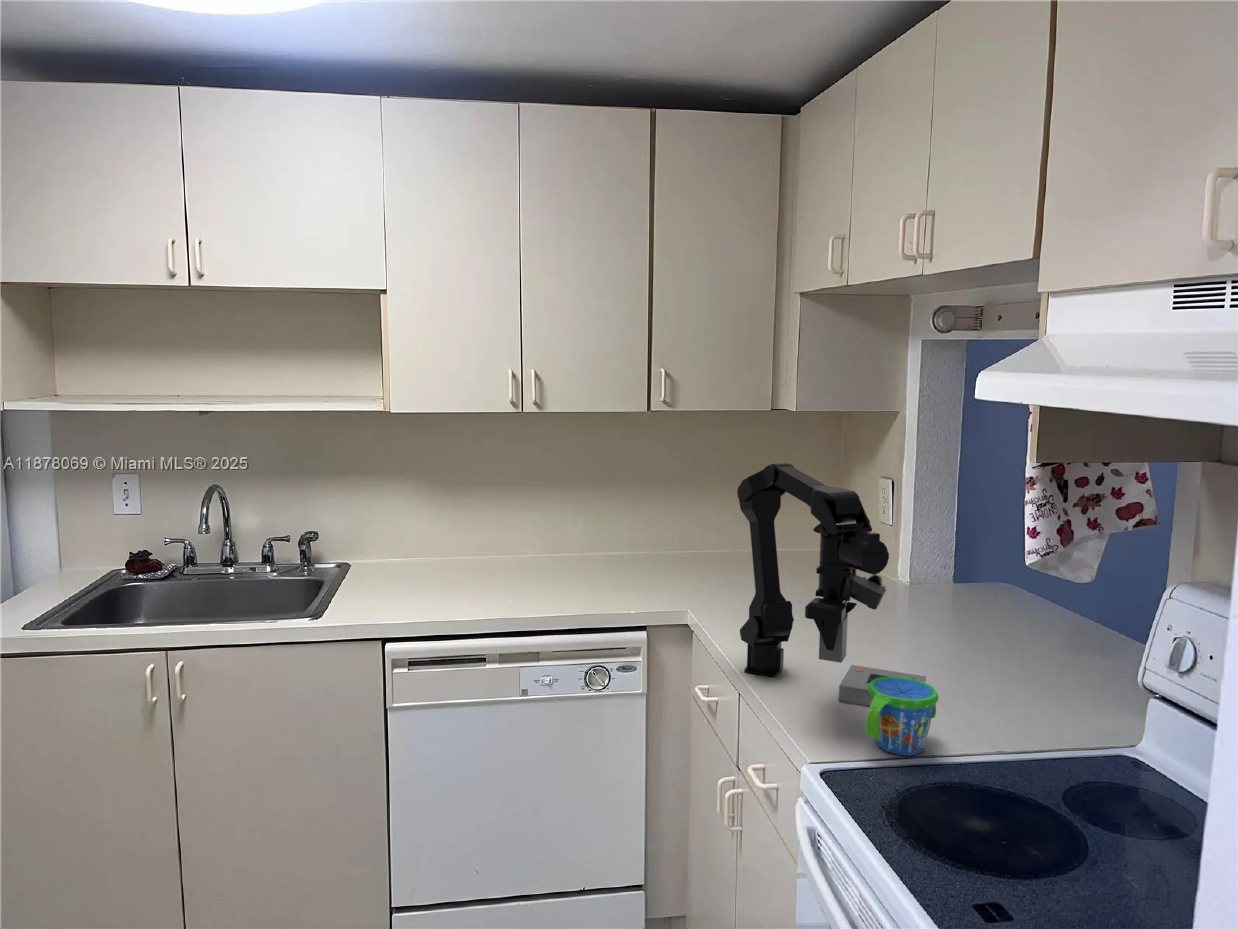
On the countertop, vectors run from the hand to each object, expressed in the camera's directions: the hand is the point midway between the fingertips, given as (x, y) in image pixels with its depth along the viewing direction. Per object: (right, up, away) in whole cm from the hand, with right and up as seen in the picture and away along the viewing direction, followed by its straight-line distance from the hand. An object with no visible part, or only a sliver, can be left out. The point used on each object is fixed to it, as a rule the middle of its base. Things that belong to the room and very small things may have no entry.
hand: (832, 646), depth 152 cm
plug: (0, -2, 0) cm, 2 cm away
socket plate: (+12, -11, +8) cm, 18 cm away
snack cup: (+8, -14, -13) cm, 21 cm away
